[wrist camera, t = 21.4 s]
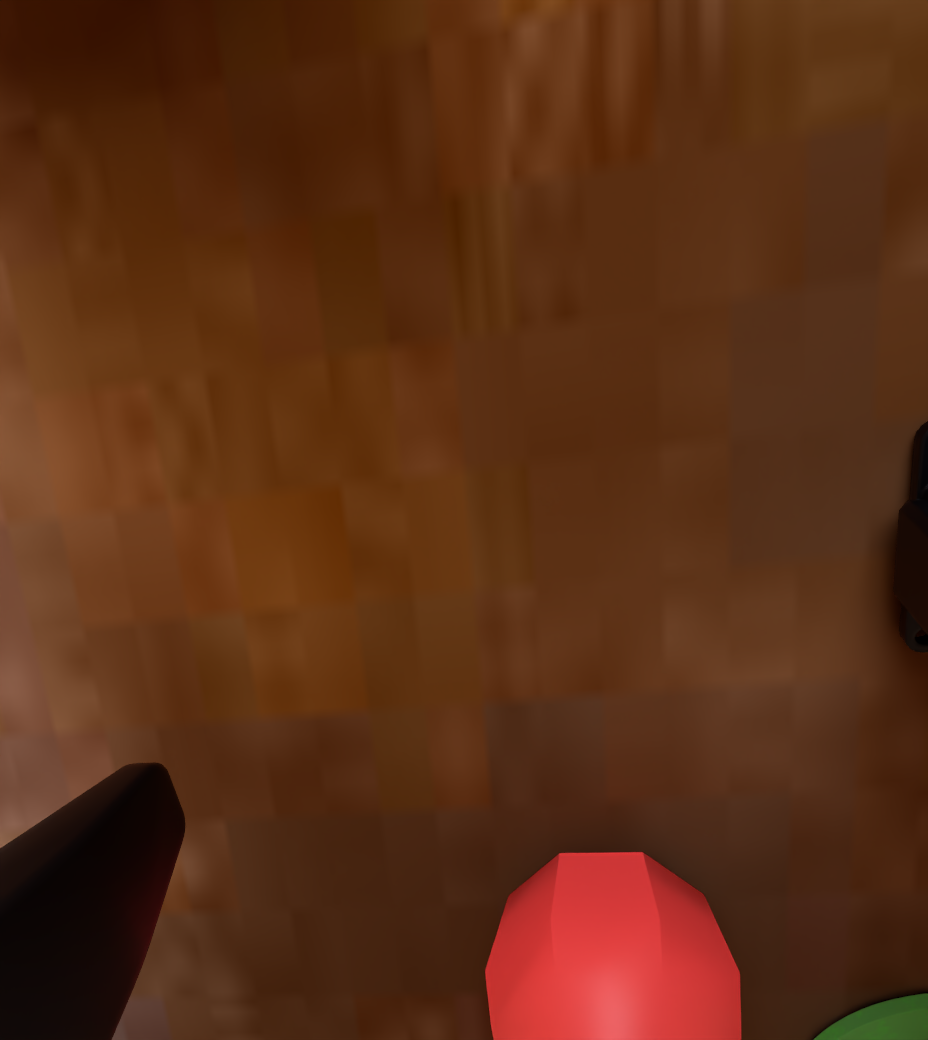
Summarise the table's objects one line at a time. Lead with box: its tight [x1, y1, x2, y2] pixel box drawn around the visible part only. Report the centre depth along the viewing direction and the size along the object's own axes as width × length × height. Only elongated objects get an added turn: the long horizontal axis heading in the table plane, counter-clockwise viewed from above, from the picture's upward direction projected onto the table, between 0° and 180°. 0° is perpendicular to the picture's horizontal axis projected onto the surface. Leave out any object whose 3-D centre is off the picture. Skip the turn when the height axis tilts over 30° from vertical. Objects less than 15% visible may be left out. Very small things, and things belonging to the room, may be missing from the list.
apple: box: [485, 852, 741, 1040], centre depth 23 cm, size 8×8×8 cm
